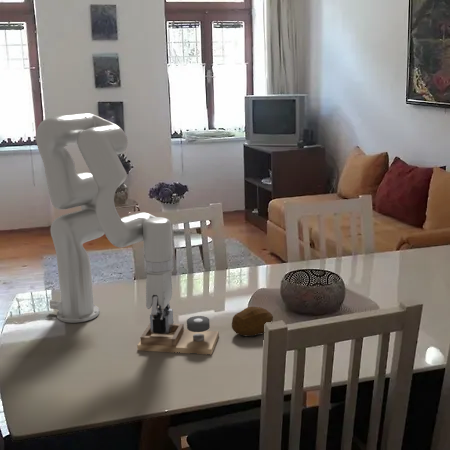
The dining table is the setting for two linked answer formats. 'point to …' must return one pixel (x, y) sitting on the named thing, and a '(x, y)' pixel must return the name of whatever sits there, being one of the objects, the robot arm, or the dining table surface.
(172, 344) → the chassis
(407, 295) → the dining table surface
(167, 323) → the grey stone cube
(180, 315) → the dining table surface
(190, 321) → the wheel
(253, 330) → the potato
